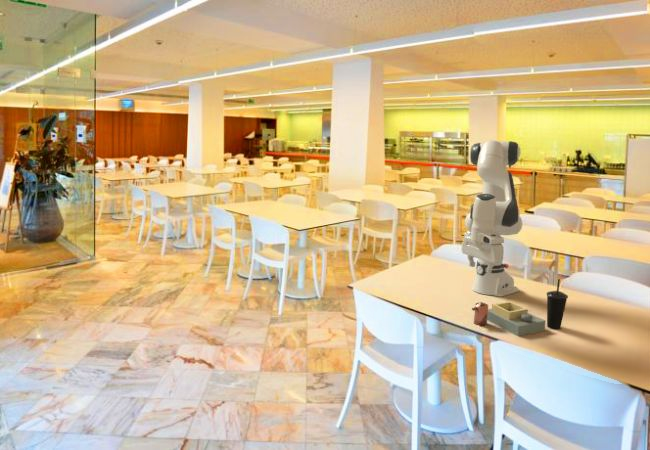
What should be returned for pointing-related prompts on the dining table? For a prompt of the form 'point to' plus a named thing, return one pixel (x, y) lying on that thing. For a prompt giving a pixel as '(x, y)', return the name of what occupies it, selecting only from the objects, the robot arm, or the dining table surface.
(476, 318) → the spout can
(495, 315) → the grey block with tray
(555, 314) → the drinking cup
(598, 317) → the dining table surface
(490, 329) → the dining table surface
